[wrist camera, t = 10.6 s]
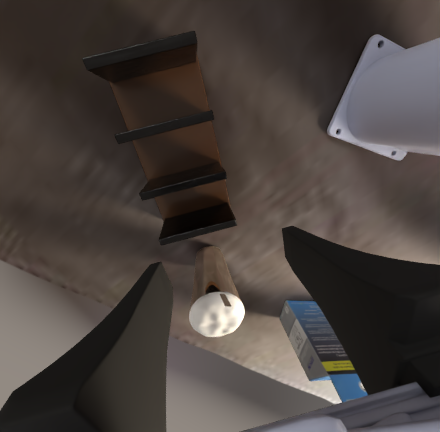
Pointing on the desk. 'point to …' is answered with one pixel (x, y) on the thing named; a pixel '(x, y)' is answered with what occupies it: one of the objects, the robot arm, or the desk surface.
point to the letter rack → (170, 132)
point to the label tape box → (320, 348)
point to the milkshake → (214, 296)
